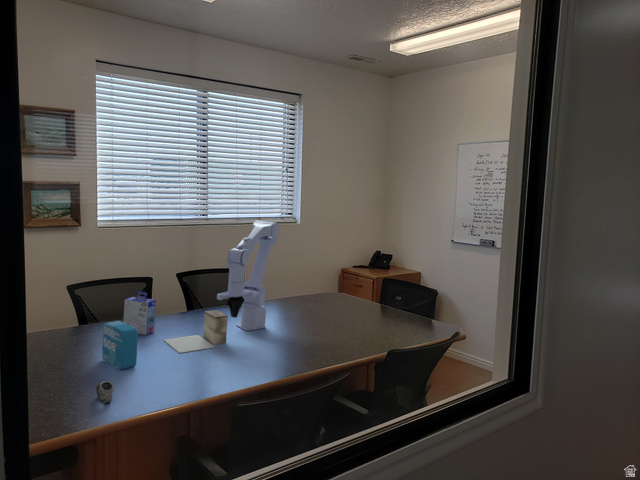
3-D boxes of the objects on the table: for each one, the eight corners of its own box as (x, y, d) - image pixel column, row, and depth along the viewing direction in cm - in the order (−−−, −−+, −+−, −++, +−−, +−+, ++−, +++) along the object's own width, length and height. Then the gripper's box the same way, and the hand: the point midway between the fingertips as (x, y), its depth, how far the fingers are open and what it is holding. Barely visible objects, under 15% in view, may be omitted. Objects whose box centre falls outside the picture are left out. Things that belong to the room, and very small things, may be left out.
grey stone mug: (102, 406, 116) (103, 387, 116) (92, 397, 120) (92, 379, 120) (116, 402, 119) (117, 383, 118) (105, 393, 123) (106, 375, 122)
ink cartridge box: (155, 331, 174) (157, 293, 173) (146, 335, 169) (148, 296, 167) (131, 327, 176) (132, 290, 175) (122, 331, 171) (123, 293, 169)
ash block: (215, 336, 175) (217, 310, 174) (226, 342, 169) (227, 315, 168) (203, 337, 172) (205, 311, 171) (213, 344, 166) (215, 317, 165)
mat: (197, 335, 174) (197, 334, 174) (215, 347, 163) (215, 346, 163) (163, 340, 165) (163, 339, 165) (179, 353, 155) (179, 352, 155)
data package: (101, 359, 144) (102, 322, 143) (115, 356, 148) (117, 319, 147) (122, 371, 137) (124, 332, 136) (136, 367, 141) (138, 329, 139)
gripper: (246, 277, 181) (244, 311, 182) (213, 280, 171) (211, 316, 172) (257, 281, 176) (254, 316, 177) (223, 284, 166) (221, 321, 167)
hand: (234, 316), depth 174 cm, fingers closed
